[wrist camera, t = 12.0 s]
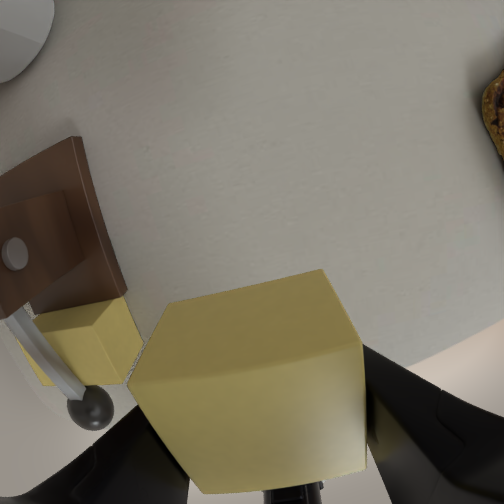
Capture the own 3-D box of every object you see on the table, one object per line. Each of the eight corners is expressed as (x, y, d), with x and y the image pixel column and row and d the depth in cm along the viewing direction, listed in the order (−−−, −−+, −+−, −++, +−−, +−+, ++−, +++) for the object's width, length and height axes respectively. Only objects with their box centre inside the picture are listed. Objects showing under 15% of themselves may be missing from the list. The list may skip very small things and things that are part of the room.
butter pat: (341, 385, 10) (367, 470, 6) (214, 410, 10) (202, 495, 7) (322, 267, 8) (363, 341, 5) (167, 302, 9) (124, 384, 5)
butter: (144, 343, 20) (122, 384, 16) (69, 352, 20) (43, 386, 16) (121, 291, 19) (92, 325, 15) (47, 307, 19) (14, 336, 15)
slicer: (128, 289, 19) (59, 374, 10) (43, 308, 19) (-28, 373, 11) (81, 136, 16) (-24, 135, 7) (0, 180, 16) (-92, 204, 8)
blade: (126, 401, 18) (118, 440, 16) (91, 402, 19) (81, 437, 16) (6, 218, 12) (-33, 251, 9) (-26, 235, 12) (-60, 266, 9)
